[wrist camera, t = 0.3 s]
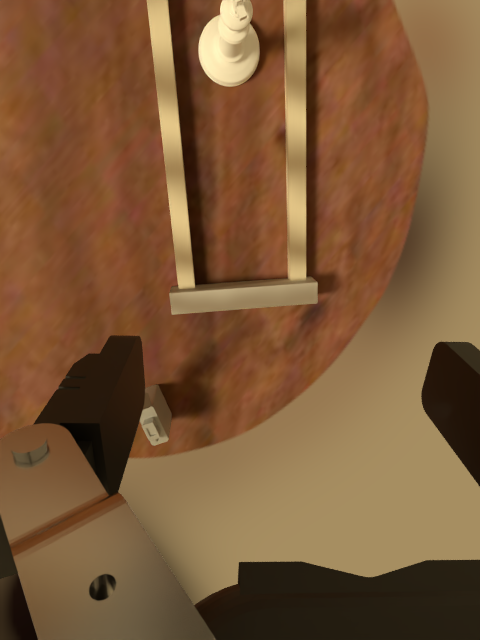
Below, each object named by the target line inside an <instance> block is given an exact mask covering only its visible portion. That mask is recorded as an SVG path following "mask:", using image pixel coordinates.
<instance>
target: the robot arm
mask: <svg viewBox="0 0 480 640" xmlns="http://www.w3.org/2000/svg"><path fill="white" fill-rule="evenodd" d="M421 397H422V404H423V408H424V410H425V412H426V414H427V415H428V416H429V418H430V419H431V420H432V422H433V423H434V425H435V426H436V427H437V428H438V430H439V431H440V433H441V434H442V435H443V437H444V438H445V440H446V441H447V442H448V444H449V445H450V446H451V448H452V449H453V451H454V452H455V453H456V455H457V456H458V457H459V459H460V460H461V461H462V463H463V464H464V465H465V467H466V468H467V470H468V471H469V472H470V474H471V475H472V476H473V478H474V479H475V480H476V482H477V483H478V485H479V486H480V351H479V350H478V349H477V348H476V347H475V346H474V345H472V344H471V343H468V342H439V343H437V344H436V345H435V347H434V349H433V352H432V356H431V359H430V363H429V366H428V370H427V374H426V377H425V381H424V385H423V388H422V396H421ZM144 401H145V379H144V365H143V352H142V342H141V338H140V336H110V337H109V338H108V340H107V342H106V344H105V345H104V347H103V349H102V351H101V352H100V354H88V355H86V356H85V357H83V358H82V359H80V360H79V361H77V362H76V363H74V364H73V366H72V367H71V369H70V370H69V372H68V373H67V375H66V378H65V379H63V381H62V382H61V384H60V385H59V389H57V390H56V391H55V393H54V394H53V396H52V397H51V399H50V400H49V402H48V403H47V405H46V406H45V408H44V409H43V411H42V412H41V414H40V415H39V417H38V418H37V420H36V421H35V423H34V424H33V425H30V426H26V427H23V428H20V429H17V430H15V431H13V432H11V433H9V434H7V435H6V436H4V437H3V438H1V439H0V579H1V578H4V577H7V576H11V575H14V574H17V573H18V574H19V578H20V581H21V584H22V587H23V591H24V594H25V597H26V601H27V604H28V607H29V610H30V614H31V617H32V620H33V624H34V627H35V630H36V633H37V637H38V640H480V560H427V561H423V562H421V563H417V564H414V565H411V566H408V567H404V568H401V569H398V570H395V571H392V572H389V573H386V574H382V575H379V576H376V577H363V576H358V575H354V574H350V573H346V572H342V571H338V570H334V569H329V568H325V567H321V566H317V565H313V564H309V563H305V562H239V571H238V584H236V585H233V586H230V587H227V588H224V589H222V590H220V591H218V592H215V593H213V594H211V595H209V596H208V597H206V598H205V599H203V600H201V601H200V602H198V603H197V604H195V605H193V603H192V602H191V600H190V598H189V597H188V595H187V594H186V592H185V591H184V590H183V588H182V587H181V585H180V583H179V582H178V580H177V578H176V577H175V575H174V574H173V572H172V571H171V569H170V568H169V566H168V565H167V563H166V562H165V560H164V559H163V557H162V555H161V554H160V552H159V551H158V549H157V548H156V546H155V545H154V543H153V542H152V540H151V538H150V537H149V535H148V534H147V532H146V531H145V529H144V528H143V526H142V525H141V523H140V522H139V520H138V518H137V517H136V515H135V514H134V512H133V511H132V509H131V508H130V506H129V505H128V503H127V502H126V500H125V499H124V498H123V496H122V495H121V494H119V493H118V490H119V487H120V484H121V481H122V477H123V474H124V471H125V467H126V464H127V460H128V457H129V454H130V451H131V447H132V444H133V441H134V438H135V434H136V431H137V428H138V424H139V421H140V418H141V414H142V411H143V407H144Z"/></svg>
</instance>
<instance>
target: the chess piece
mask: <svg viewBox="0 0 480 640" xmlns="http://www.w3.org/2000/svg"><path fill="white" fill-rule="evenodd" d="M220 14H221V15H218V16H216V17H215V18H213V19H212V20H211V21H210V22H209V23H208V24H207V25H206V26H205V28H204V30H203V32H202V34H201V37H200V41H199V59H200V62H201V65H202V67H203V69H204V71H205V73H206V74H207V75H208V76H209V78H211V79H212V80H213V81H214V82H216V83H218V84H220V85H223V86H229V87H231V86H237V85H240V84H242V83H244V82H246V81H247V80H248V79H249V78H250V77H251V76H252V75H253V73H254V71H255V70H256V67H257V65H258V61H259V55H260V48H259V41H258V37H257V34H256V32H255V30H254V28H253V27H252V25H251V24H250V21H251V19H252V14H253V9H252V4H251V2H250V0H222V3H221V7H220Z"/></svg>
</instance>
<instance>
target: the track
mask: <svg viewBox="0 0 480 640" xmlns="http://www.w3.org/2000/svg"><path fill="white" fill-rule="evenodd" d="M147 6H148V15H149V24H150V33H151V42H152V51H153V60H154V69H155V78H156V87H157V97H158V106H159V115H160V124H161V133H162V142H163V151H164V160H165V169H166V178H167V187H168V196H169V205H170V215H171V224H172V233H173V242H174V251H175V260H176V269H177V278H178V286H173V287H171V290H170V293H169V295H170V303H171V311H172V315H173V314H186V313H198V312H211V311H224V310H237V309H250V308H263V307H275V306H288V305H301V304H314V303H317V300H318V282H317V281H316V280H314V279H313V278H312V277H311V276H309V277H306V0H284V59H285V121H286V184H287V246H288V278H282V279H268V280H255V281H241V282H227V283H214V284H200V285H195V277H194V266H193V256H192V246H191V235H190V225H189V214H188V204H187V193H186V183H185V172H184V162H183V151H182V141H181V131H180V120H179V110H178V99H177V89H176V78H175V68H174V57H173V47H172V36H171V26H170V16H169V5H168V0H147Z"/></svg>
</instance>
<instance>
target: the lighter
mask: <svg viewBox="0 0 480 640" xmlns="http://www.w3.org/2000/svg"><path fill="white" fill-rule="evenodd" d="M171 419H172V413H171V411H170V409H169V407H168V405H167V403H166V400H165V398H164V396H163V394H162V392H161V390H160V387H159V385H153V386H150V387H147V388H145V401H144V407H143V411H142V414H141V418H140V422H141V424H142V428H143V430H144V432H145V434H146V436H147V438H148V440H149V441H150V442H151V444H152V445H157V444H160V443H163V442H166V441H168V439H169V433H170V426H171Z"/></svg>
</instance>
